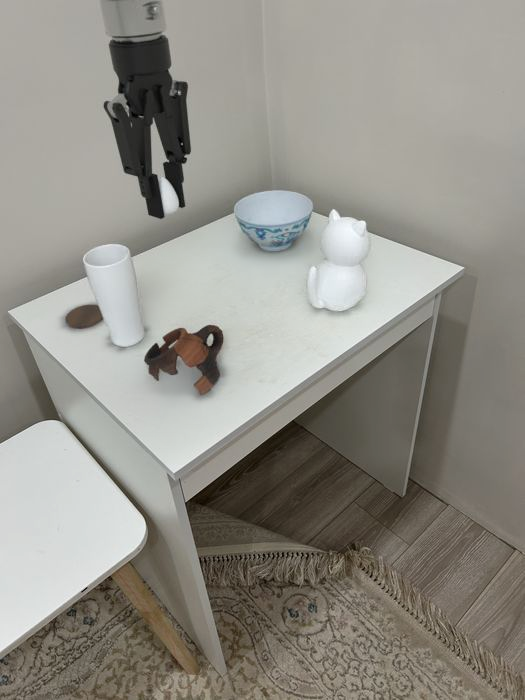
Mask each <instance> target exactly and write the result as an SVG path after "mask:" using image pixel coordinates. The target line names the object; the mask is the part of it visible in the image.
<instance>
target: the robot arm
mask: <svg viewBox="0 0 525 700" xmlns="http://www.w3.org/2000/svg"><path fill="white" fill-rule="evenodd" d="M99 4H100V9H101V15H102V20H103V25H104V31H105V34H106V36H108V37H110V38H111V40H109V43H108V49H109V54H110V58H111V64H112V69H113V71H114V72H115V75H116V77H117V79H118V87H117V95H116V96H115V97H114V98H113V99H112V100H105V101H104V102H103V109H104V110H105V112H106V114H107V116H108V118H109V120H110V123H111V126H112V130H113V134H114V138H115V141H116V145H117V146H116V147H117V149H118V154H119V158H120V162H121V165H122V170H123V173H125V174H126V175H130V176H133V177H136V178H137V180H138V186H139V190H140V195H141V197H142V198H145V204H146V209H147V210H146V211H147V215H148V216H150V217H153V218H156V219H159V220H162V219H165V214H164V211H163V205H162V199H161V193H160V188H159V182H158V180H159V178H158V174H157V173H153V155H152V153H153V152H152V128H151V127H152V125H153V124H155V127H156V130H157V133H158V136H159V139H160V140H159V141H160V142H161V146H162V149H163V153H164V155H165V158H166V160H167V161H164V162H162V167H163V174H164V178H165V179H167V180H168V181H169V183H170V184H171V185H172V187H173V188H174V190H175V192H176V194H177V197H178V200H179V207H178V208H181V209H183V208H185V207H186V200H185V193H184V187H183V184H184V182H185V177H184V169H183V165H185V164H186V163H187V161H188V157H187V156H189V155H190V154H191V152H192V145H191V136H190V135H191V134H190V125H189V113H188V104H187V103H188V102H187V98H188V90H189V84H188V82H186V81H183V80H178V79H177V80H176V79H173V77H172V74H171V72H170V71H169V70H170V68H171V67H172V56H171V50H170V42H169V38H168V37H167V36H166V34H163V33H165V32H166V31H167V22H166V15H165V8H164V1H163V0H99ZM185 156H186V157H185Z"/></svg>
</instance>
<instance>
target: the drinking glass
mask: <svg viewBox="0 0 525 700" xmlns="http://www.w3.org/2000/svg"><path fill="white" fill-rule="evenodd" d="M133 261H134V260H133V258H132V255H131V251H130V249H129V247H127V246H125V245H123V244H119V243H108V244H102V245H97V246H95V247H94V248H92V249H90V250H88V251H87V252H86V253H85V254H84V255H83V258H82V262H83V263H82V264H83V266H84V270H85V271H84V272H85V275H86V278H87V281H88V284H89V287H90V290H91V292H92V294H93V297H94V300H95V302H96V305H98V306H99V309H100V311H101V314H102V316H103V319H102V320H103V321H104V323H105V326H106V329H107V331H108V335H109V337H110V340H111V342H112V343H113V344H114V345H115V346H118V347H123V348H125V347H132V346H135V345H136V344H139V343H140V342H141V341H143V339H144V337H145V334H146V333H145V332H146V331H145V327H144V323H143V316H142V310H141V303H140V296H139V295H140V293H139V287H138V280H137V274H136V269H135V264H134V262H133Z"/></svg>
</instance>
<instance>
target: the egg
mask: <svg viewBox="0 0 525 700" xmlns="http://www.w3.org/2000/svg"><path fill="white" fill-rule="evenodd" d="M158 182H159V188H160V193H161V199H162V205H163V211H164V215H171V214H174V213H176V212H177V211H178V210H179V208H180V207H179V200H178V197H177V194H176V192H175V190H174V188H173V187H172V185H171V184H170V183H169V181H168V180H167V179H165V177H163V176H162V177H160V178H158Z"/></svg>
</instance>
